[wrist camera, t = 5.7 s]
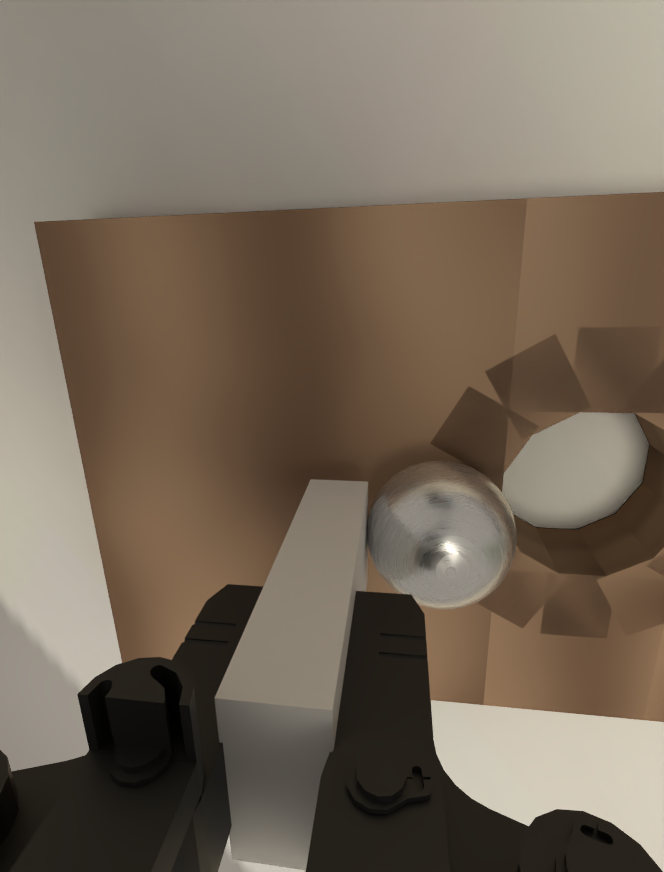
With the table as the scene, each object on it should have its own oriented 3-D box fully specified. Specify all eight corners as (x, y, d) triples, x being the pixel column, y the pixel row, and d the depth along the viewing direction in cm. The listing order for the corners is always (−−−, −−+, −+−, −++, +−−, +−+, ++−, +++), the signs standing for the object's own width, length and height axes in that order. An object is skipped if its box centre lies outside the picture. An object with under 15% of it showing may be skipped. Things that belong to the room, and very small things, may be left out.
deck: (158, 621, 19) (123, 670, 17) (93, 229, 15) (34, 222, 12) (733, 666, 16) (788, 733, 14) (866, 194, 12) (978, 176, 10)
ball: (551, 500, 10) (505, 447, 13) (372, 486, 10) (372, 437, 13) (522, 650, 10) (487, 565, 14) (360, 634, 11) (362, 554, 14)
